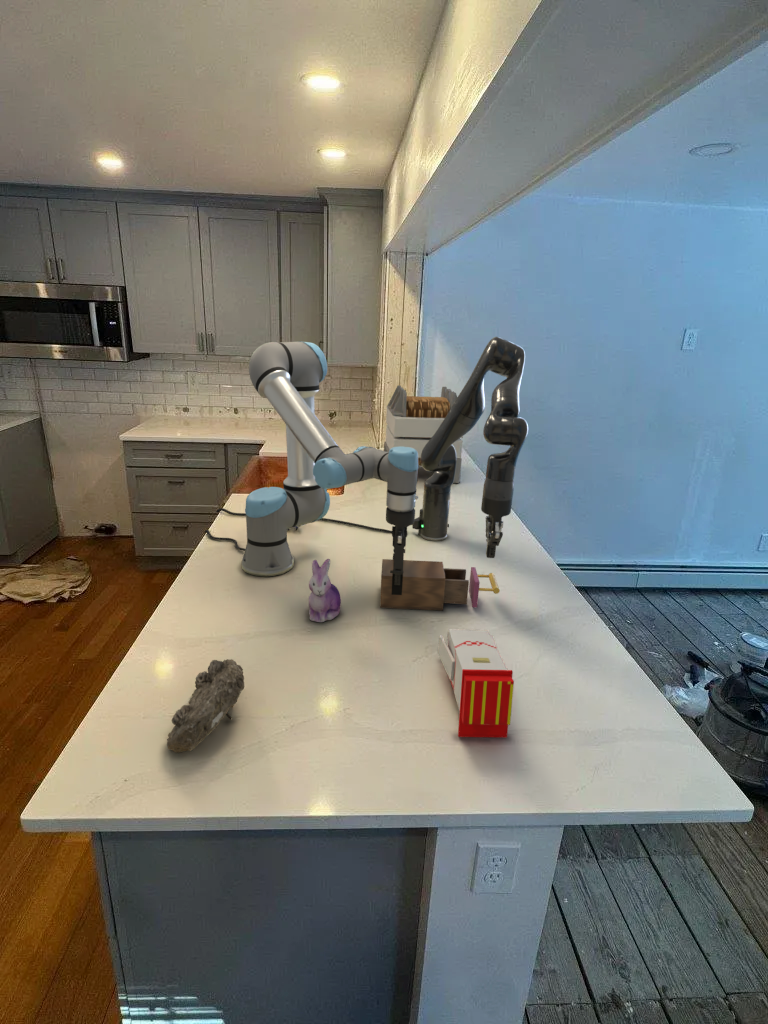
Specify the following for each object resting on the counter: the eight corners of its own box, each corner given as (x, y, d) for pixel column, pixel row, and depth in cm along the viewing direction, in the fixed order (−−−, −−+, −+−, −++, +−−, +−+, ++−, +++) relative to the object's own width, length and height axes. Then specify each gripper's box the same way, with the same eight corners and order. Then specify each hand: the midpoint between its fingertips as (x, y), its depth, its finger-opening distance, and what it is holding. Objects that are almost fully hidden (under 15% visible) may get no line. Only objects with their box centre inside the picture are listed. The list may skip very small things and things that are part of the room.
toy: (488, 613, 130) (523, 677, 101) (484, 667, 133) (517, 744, 104) (435, 612, 130) (455, 676, 101) (432, 666, 133) (451, 743, 103)
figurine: (314, 627, 139) (314, 572, 134) (300, 608, 148) (299, 555, 143) (349, 619, 143) (350, 565, 138) (333, 601, 152) (334, 550, 147)
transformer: (382, 463, 289) (386, 382, 275) (445, 464, 293) (451, 384, 279) (390, 482, 257) (394, 392, 243) (460, 483, 261) (468, 394, 247)
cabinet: (440, 592, 160) (442, 561, 156) (442, 610, 150) (445, 578, 147) (381, 589, 160) (382, 559, 157) (380, 607, 150) (381, 575, 147)
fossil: (192, 660, 117) (244, 628, 112) (224, 691, 120) (276, 661, 115) (142, 746, 98) (202, 712, 93) (182, 779, 101) (242, 748, 96)
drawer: (492, 592, 159) (495, 568, 156) (497, 608, 150) (500, 583, 147) (418, 588, 159) (419, 564, 156) (419, 605, 150) (420, 579, 148)
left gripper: (416, 524, 135) (411, 606, 143) (414, 494, 157) (409, 567, 164) (385, 522, 135) (381, 604, 143) (387, 493, 157) (384, 565, 164)
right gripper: (517, 504, 138) (508, 568, 144) (507, 487, 150) (500, 547, 156) (486, 502, 138) (479, 566, 144) (479, 486, 150) (473, 546, 156)
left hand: (396, 584), depth 154 cm, fingers closed on cabinet, 10 cm apart
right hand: (490, 556), depth 150 cm, fingers closed
